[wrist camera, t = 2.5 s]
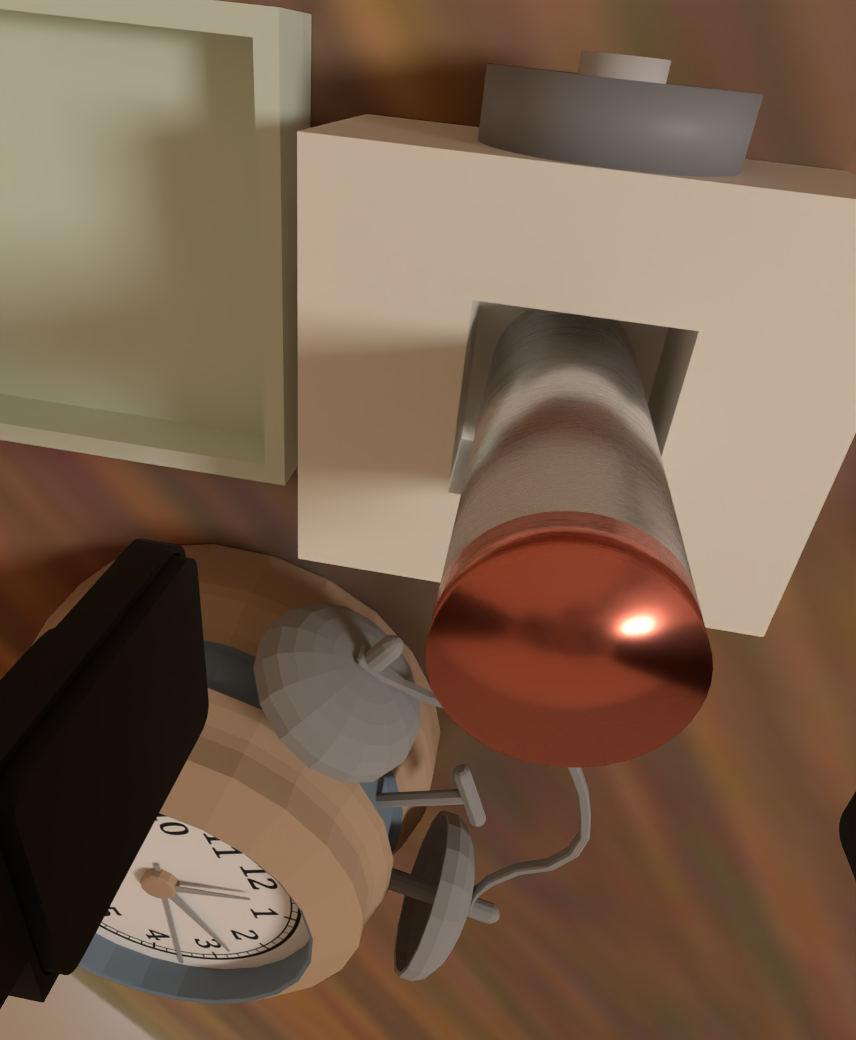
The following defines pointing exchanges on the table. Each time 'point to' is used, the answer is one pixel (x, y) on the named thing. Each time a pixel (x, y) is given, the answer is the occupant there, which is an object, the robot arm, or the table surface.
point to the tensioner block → (575, 311)
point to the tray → (152, 230)
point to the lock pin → (567, 561)
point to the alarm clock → (297, 802)
